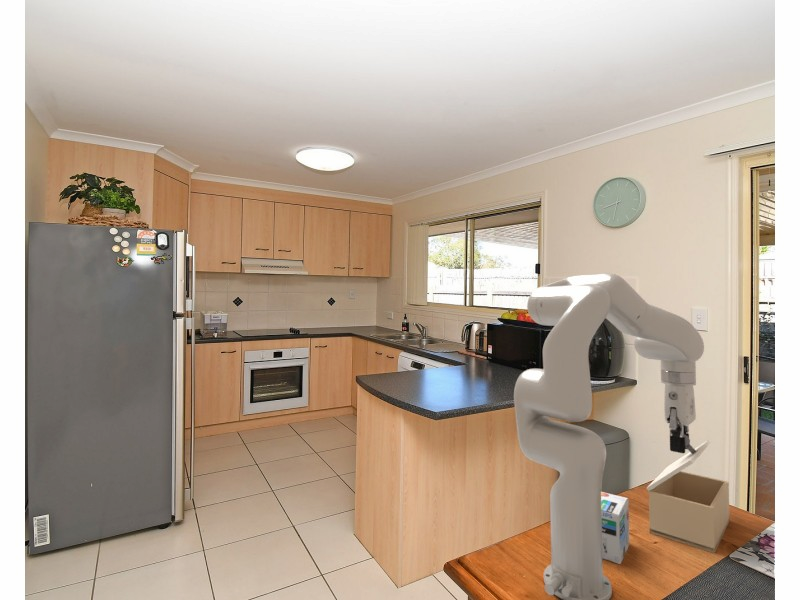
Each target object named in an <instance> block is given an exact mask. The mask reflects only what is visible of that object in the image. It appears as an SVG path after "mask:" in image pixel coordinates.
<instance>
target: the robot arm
mask: <svg viewBox="0 0 800 600" xmlns="http://www.w3.org/2000/svg"><path fill="white" fill-rule="evenodd" d="M526 308H527V313H528V315H529V317H530V319H532V320H533V322H535V323H536V324H538V325H541V326H547V327H548V326H549V327H552V326H553V327H552V329H551V330H550V332H549V333H548V334H547V337H546V338H545V340H544V343H543V347H542V367H543V368H529V369H528V368H527V369H526V370H524V371H523V372H521V373H520V374H519V376H518V377H517V380H516V381H515V385H514V391H513V402H514V403H513V405H514V412H515V414H514V415H515V421H516V431H517V440H518V443H519V447H520V451H521V452H522V454H523V455H524V456H525V457H526V458H527V459H529V460H531V461H532V462H535V463H537V464H539V465H543V466H546V467H547V468H548V467H549V468H551V469H553V470H556V471H558V472H559V477H558V479H557V480H556V481H555V482H554V484H552V486H551V489H550V492H549V493H550V494H549V495H550V496H549V504H550V505H549V507H550V509H549V510H550V513H549V514H550V554H551V555H550V559H551V563H550V564H548V565H547V567H546V568H545V569H544V570H543V583H544V584H545V585H544V591H545V592H546V594H548V595H549V596H554V595H555V596H556V597H558V598H560V599H561V600H610V599H611V598H612V595H613V591H612V590H613V587H612V586H613V585H612V583H611V582H610V580H609V578H608V577H607V576H606V575H605V574H604V573H603V570H604V569H603V558H602V513H601V492H602V487H603V486H602V485H603V478H604V477H603V475H604V470H605V465H606V460H607V448H606V444H605V442H604V441H603V439H602V437H600V435H599V434H597V433H596V432H594V431H593V430H590V429H588V428H586V427H583V426H579V425H576V424H572V423H576V422H577V423H580V422H584V421H586V420H587V419H588V418H589V417H590V416H591V413H592V410H593V395H592V393H593V392H592V385H591V384H592V383H591V382H592V381H591V372H590V360H589V351H590V350H589V349H590V346H591V342H592V340H593V338H594V336H595V334H596V332H597V331H598V329H599V328H600V326H601V325H602V323H604V321H605V319H606V320H607V321H609V322H610V324H612V325H613V326H614V327H615V328H616V329H617V330H618V331H619V332H621V333H623V334H626V335H629V336H632V337H635V338H634V343H633V345H634V350H635V351H636V353H637V355H639V356H640V357H642V358H646V359H648V360H656V361H660V383H661V384H664V404H663V405H664V410H663V411H664V421H665V422H666V423H667V424H669V425H668V427H669V450H670V451H671V452H673V453H679V454H685V453H686V450H688V449H687V448H686V447H685V437H683V434H685V435H687V436H688V437H689V438H690V434H689V433H690V432H689V431H690V428H689V426H690V425H691V424H692V423H694V422H695V421H696V418H697V416H696V415H697V414H696V413H697V412H696V402H695V391H694V386H696V385H697V376H696V375H697V373H696V371H697V370H696V369H697V367H696V366H697V365H696V363H697V361H699V360H700V359H701V358H702V357H703V354H704V352H705V345H704V340H703V338H702V335H701V334H700V333H699V331H698V330H697V328H696V327H694V325H693V324H692V323H691V322H689V320H688V319H686V318H684V317H682V316H680V315H678V314H675V313H673V312H670V311H668V310H665V309H662V308H660V307H658V306H655V305H651V304H649V303H647V301H646V300H645V299H644V298H643V297H642V296H641V295H640V294H639V293H638V292H637V291H636V290H635V289H634V288H633V287H632V286H631V285H630V284H629V283H628V282H627V281H626V280H625V279H624V278H623V277H622V276H620V275H617V274H616V273H610V272H609V273H608V272H607V273H606V272H605V273H593V274H592V273H591V274H580V275H572V276H569V277H565V278H563V279H560V280H557V281H554V282H551V283H548V284H544V285H541V286H538V287H537V288H535V289H534V290H533V291H532V292H531V294H530V295H529V296H528V300H527V306H526ZM554 419H556V420H554ZM558 420H560V421H558ZM563 421H564V422H563ZM565 421H566V422H565ZM567 422H571V423H567Z"/></svg>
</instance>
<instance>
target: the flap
mask: <svg viewBox="0 0 800 600" xmlns="http://www.w3.org/2000/svg"><path fill="white" fill-rule="evenodd" d="M683 437H685V447H686V448H687V449H686V450H688V451H689V452H688V453H686V454H685V455H683V456H681V457H680V458H678V459H677V460H675V461H674V462H672V463H670V464H669V465H667V466H666V467H665V469H664V470H662V471H661V473H660V474H659V475H658V476H657V477H655V479H654V480H653V481H652V482H651V483H649V484H648V486H647V487H646V490H647V491H648V492H649V491H650V490H651V489H653V488H655V487H656V486H658V485H659V484H661V483H662V482H664V481H666V480H667V479H669V478H670V477H672V476H673V475H675V474H677V473H678V472H680V471H683V470H685V469H686V468H688V467H689V466H691V465H693V464H694V463H695V461H696V460H697V459H698V458H699V457H700V456H701V454H702V453H704V451H705V450H706V449H707V448H708V446H709V445H710V444H711V442H710V441H709V440H706V441H704V442H703V443H701V444H699V445H698V446H697V447H695V448H694V447H693V446H692V445H691V444H690V443H691V439H690V436H689V437H688V436H687V435H685V434H683Z"/></svg>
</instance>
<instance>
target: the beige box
mask: <svg viewBox="0 0 800 600" xmlns="http://www.w3.org/2000/svg"><path fill="white" fill-rule="evenodd" d="M729 483H730V482H729V481H727V480H722V479H718V478H713V477H710V476H703V475H700V474H695V473H691V472H686V471H683V470H681V471H680V472H678V473H677V474H675V475H673V476H672V477H670V478H669V479H667V480H666V481H664V482H662V483H661V484H659V485H658V486H656V487H655V488H653V489H651V490H650V491H648V515H649V516H648V518H649V520H648V521H649V534H653V535H655V536H659V537H662V538H665V539H669V540H671V541H674V542H678V543H680V544H685V545H687V546H691V547H694V548H696V549H699V550H703V551H706V552H709V553H711V554H716V551H717V549H718V547H719V545H720V543H721V540H722V538H723V537H724V534H725V532H726V529H727V528H728V525H729V523H730V493H729V492H730V488H729V487H730V485H729Z"/></svg>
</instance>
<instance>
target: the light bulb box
mask: <svg viewBox="0 0 800 600" xmlns="http://www.w3.org/2000/svg"><path fill="white" fill-rule="evenodd" d="M629 509H630V508H629V498H628V497H625V496H620V495H615V494H612V493H607V492H604V491H601V513H602V560H606V561H608V562H613V563H615V564H618V565H621V564H622V562H623V560H624V557H625V555H626V553H627V551H628V549H629V546H630V510H629Z"/></svg>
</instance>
